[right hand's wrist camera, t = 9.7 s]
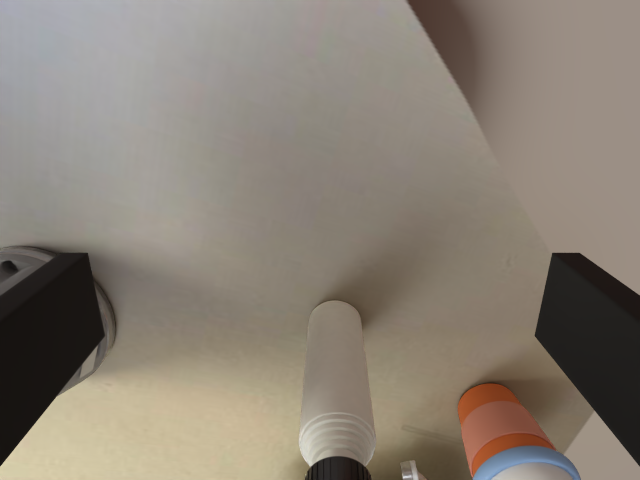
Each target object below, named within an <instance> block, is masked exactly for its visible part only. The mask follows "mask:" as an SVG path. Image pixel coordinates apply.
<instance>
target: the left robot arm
mask: <svg viewBox="0 0 640 480" xmlns="http://www.w3.org/2000/svg"><path fill="white" fill-rule="evenodd" d="M400 465H401V471H402V476H403V480H428V479H426V478H425V477H424V476H423V475H422V474H421V473H419V472H418V471H417V468H416V463H415V460H411V461H404V462H400ZM306 474H307V473H306ZM306 474H305V476H306Z"/></svg>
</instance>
